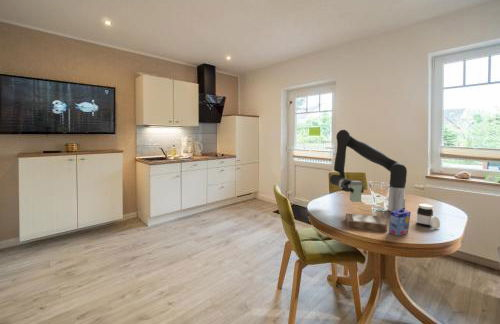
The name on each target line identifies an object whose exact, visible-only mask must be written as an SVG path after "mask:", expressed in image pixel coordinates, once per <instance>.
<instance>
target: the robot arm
mask: <svg viewBox="0 0 500 324" xmlns="http://www.w3.org/2000/svg"><path fill="white" fill-rule="evenodd" d="M347 147H348V148H350V149H352V150H353V151H354V152H356V153H357V154H358V155H360V156H361V157H362V158H365V159H366V160H368V161H369V162H372V163H374V164H376V165H379V166H381V167H383V168H384V169H386V170H387V171H388V172H390V176H389V187H388V188H389V189H388V201H387V211H388V212H390V213H391V211H395V210H399V209H402V208H405V207H406V198H405V193H406V183H407V176H408V174H407V172H408V171H407V167H406V166H405V164H404V163H401V162H400V161H397V160H395V159H393V158H391V157H389V156H387V155H386V154H385V153H383V152H382V151H380V150H378V148H376V147H374V146H372V145H370V144H369V143H366V142H363V141H360V140H358V139H356V138H355V137H353V136H352V135H351V134H350V131H348V130H347V129H340V130H339V131H338V132H337V134H336V152H335V159H334V165H333V166H334V167H333V170H334V171H335V172H336V173H338V174H339V175H338V174H332V175H330V177H329V181H330V184H332V185H334V186H337V187H339V190H341V191H344V192H346V193H350V192H352V193H354V189H352V188H351V181H352V180H351V179H348V178H346V176H345V166H346V156H347V155H346V153H347ZM364 189H365V188H364V186H363V185H362V190H361V194H363V193H364ZM405 209H406V208H405Z"/></svg>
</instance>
